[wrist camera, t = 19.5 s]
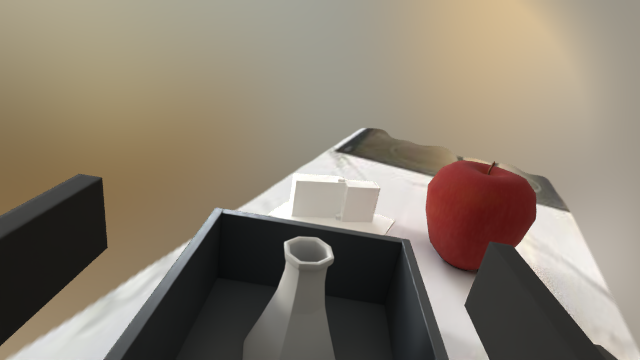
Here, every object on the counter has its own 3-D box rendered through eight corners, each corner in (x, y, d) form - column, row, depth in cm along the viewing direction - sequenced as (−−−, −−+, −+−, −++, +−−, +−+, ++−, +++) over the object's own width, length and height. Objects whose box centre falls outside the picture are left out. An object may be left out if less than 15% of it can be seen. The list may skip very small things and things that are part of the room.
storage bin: (98, 488, 19) (84, 383, 16) (211, 278, 35) (215, 207, 32) (431, 542, 19) (478, 447, 16) (389, 307, 35) (409, 239, 32)
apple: (511, 257, 48) (550, 164, 43) (506, 305, 38) (556, 192, 33) (423, 224, 53) (449, 137, 48) (399, 260, 43) (429, 155, 38)
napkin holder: (266, 214, 48) (271, 175, 46) (305, 189, 58) (310, 155, 56) (371, 255, 43) (382, 213, 41) (395, 219, 53) (404, 184, 51)
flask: (228, 338, 28) (237, 226, 24) (312, 317, 31) (331, 216, 27) (256, 427, 22) (274, 298, 18) (356, 390, 25) (388, 275, 22)
